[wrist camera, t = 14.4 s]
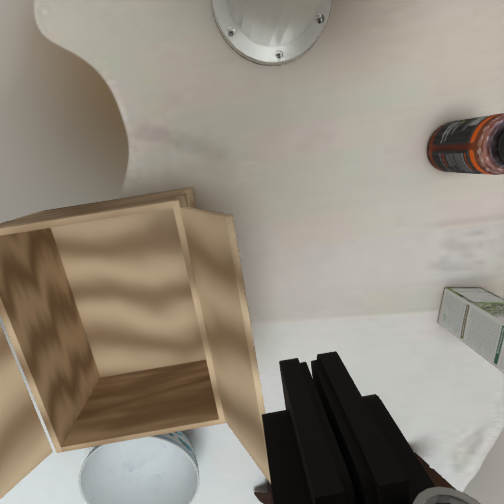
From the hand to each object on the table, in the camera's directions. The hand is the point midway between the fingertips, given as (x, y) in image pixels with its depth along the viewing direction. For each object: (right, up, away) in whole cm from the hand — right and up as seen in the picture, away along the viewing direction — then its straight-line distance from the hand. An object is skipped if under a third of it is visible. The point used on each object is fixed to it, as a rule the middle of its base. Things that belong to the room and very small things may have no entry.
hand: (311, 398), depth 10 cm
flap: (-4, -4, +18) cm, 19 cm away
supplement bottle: (+23, +17, +32) cm, 42 cm away
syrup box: (+28, -3, +38) cm, 47 cm away
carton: (-16, -1, +34) cm, 37 cm away
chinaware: (-17, -23, +40) cm, 49 cm away
